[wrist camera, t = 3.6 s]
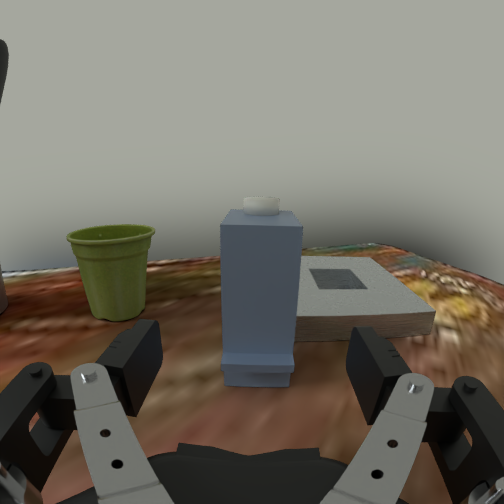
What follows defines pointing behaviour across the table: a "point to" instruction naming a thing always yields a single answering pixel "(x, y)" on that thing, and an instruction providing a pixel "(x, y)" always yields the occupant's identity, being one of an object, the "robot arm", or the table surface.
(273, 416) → the table surface
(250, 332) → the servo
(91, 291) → the plant pot
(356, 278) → the plate
